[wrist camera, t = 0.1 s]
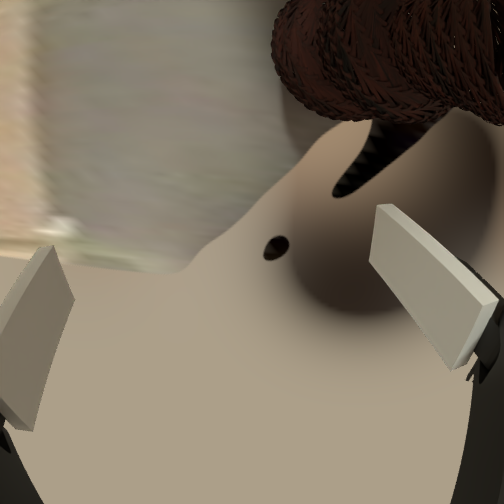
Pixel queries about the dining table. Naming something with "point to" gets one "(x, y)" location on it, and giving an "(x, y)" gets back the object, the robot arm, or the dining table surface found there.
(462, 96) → the vase
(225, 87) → the dining table surface
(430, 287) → the robot arm
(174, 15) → the dining table surface
